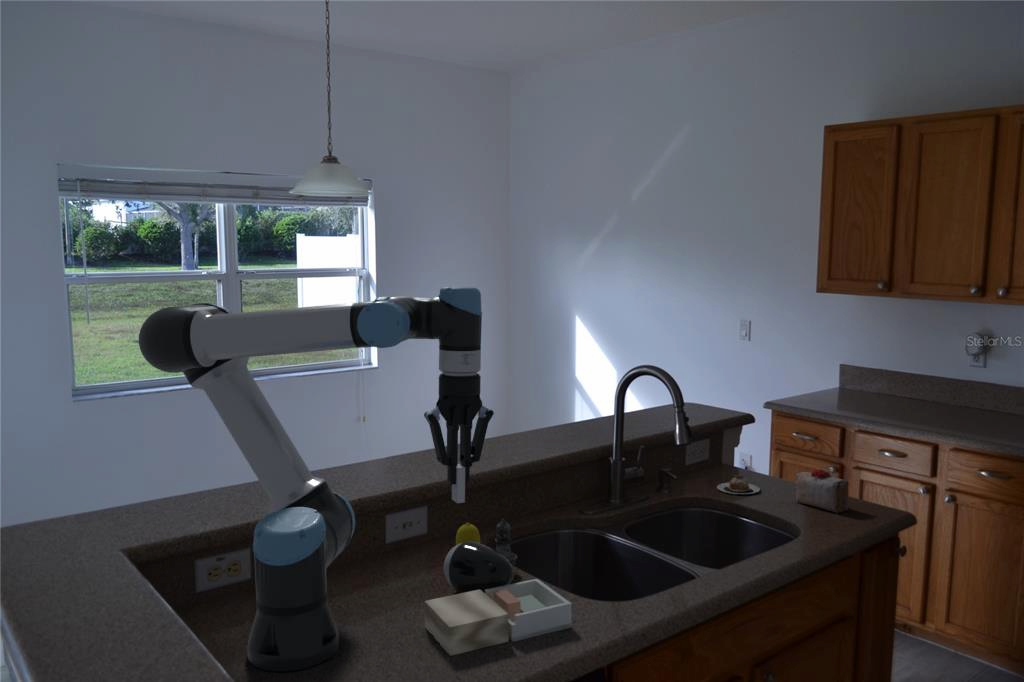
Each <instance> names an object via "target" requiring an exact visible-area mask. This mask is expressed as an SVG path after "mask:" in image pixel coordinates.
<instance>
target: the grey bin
mask: <svg viewBox="0 0 1024 682" xmlns="http://www.w3.org/2000/svg"><path fill="white" fill-rule="evenodd" d="M505 589H506V590H507V591H508V592H510V593H511V594H512V595H513V596H515V597H516V598H518V597H523V596H528V595H532V596H533V597H534V598H536V599H537V600H538V601H539V602H541V603H542V604H543V605H544V606H546V607H544V608H540V609H536V610H531V611H527V612H523V613H518V614H514V622H513V621H512V620H511V619H510V618H508V627H509V640H510V641H511V642H512V643H514V642H519V641H522V640H526V639H530V638H534V637H538V636H543V635H546V634H551V633H554V632H557V631H558V632H559V631H562V630H567V629H570V628H572V625H573V624H572V620H573V619H572V602H570V601H569V600H568V599H566V598H564V596H562V595H561V594H559V593H558V592H557V591H555V590H554V589H552V588H551V587H550V586H548V585H547V584H545V583H544V582H543V581H541V580H540V579H539V578H534V579H529V580H524V581H519V582H515V583H510V584H509V585H505V586H500V587H495V588H491V589H486V590H485V594H486V595H487V596H488V597H489V598H490V599H492V600H493V601H494V592H496V591H500V590H505Z"/></svg>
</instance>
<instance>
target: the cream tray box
mask: <svg viewBox="0 0 1024 682" xmlns="http://www.w3.org/2000/svg"><path fill="white" fill-rule="evenodd" d="M424 625H425V626H424V627H425V629H426V630H427V631H428V632H429V633H430V635H431V634H432V635H433V636H434V637H433V636H432V635H431V636H432V637H433V638H434V639H435V640H436V642H439V643H440V644H439V643H438V644H439V645H440V646H441V647H442V649H444V651H445V652H447V654H448V655H449V656H456V655H460V654H464V653H467V652H473V651H476V650H479V649H483V648H488V647H491V646H496V645H500V644H503V643H508V642H510V641H509V640H510V639H509V627H508V613H507V612H506V611H504V610H503V609H502V608H501V607H500V606H499V605H497V604H496V603H495V602H494V601H493V600H492V599H490V598H489V597H488V596H487V595H486V594H485V593H484V592H482V591H481V590H480V589H479V590H474V591H470V592H465V593H460V592H459V593H457V594H451V595H447V596H441V597H438V598H433V599H428V600H424Z"/></svg>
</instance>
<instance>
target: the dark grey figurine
mask: <svg viewBox="0 0 1024 682" xmlns="http://www.w3.org/2000/svg"><path fill="white" fill-rule="evenodd" d="M494 540H495V542H496V547H495V548H496V549H495V551H497V552H498V553H500V554H501V555H503V556H504V557H505V558H506V559H507V560H508V561H509V562H510V563H511V565H512V567H514V566H515V565H516V562H517V559H518V555H517V554H516V553H514V552H512V550H511V542H512V538H511V526H510V524H509V523H508V522H506V521H505V518H502V519H501V521H500V522H499V523H497V525H496V537H495V539H494ZM513 570H514V576H515V575H516V574H517V571H516V570H515V569H514V568H513Z"/></svg>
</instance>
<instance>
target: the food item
mask: <svg viewBox="0 0 1024 682" xmlns="http://www.w3.org/2000/svg"><path fill="white" fill-rule="evenodd" d="M794 477H795V478H794V481H795V491H796V492H795V493H796V498H795V499H796V500H795V502H796V503H798V504H802V505H806V506H810V507H814V508H818V509H822V510H825V511H828V512H833V513H837V514H838V513H841V512H844V511H845V512H846V511H847V510H849V483H850V482H849V481H848V480H845V479H842V478H838V477H834V476H831V474H830V472H828V469H826V470H822V469H820V470H819V469H818V470H816V471H815V470H813V472H809V471H808V472H807V471H801V472H798V473H797V474H795V475H794Z"/></svg>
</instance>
